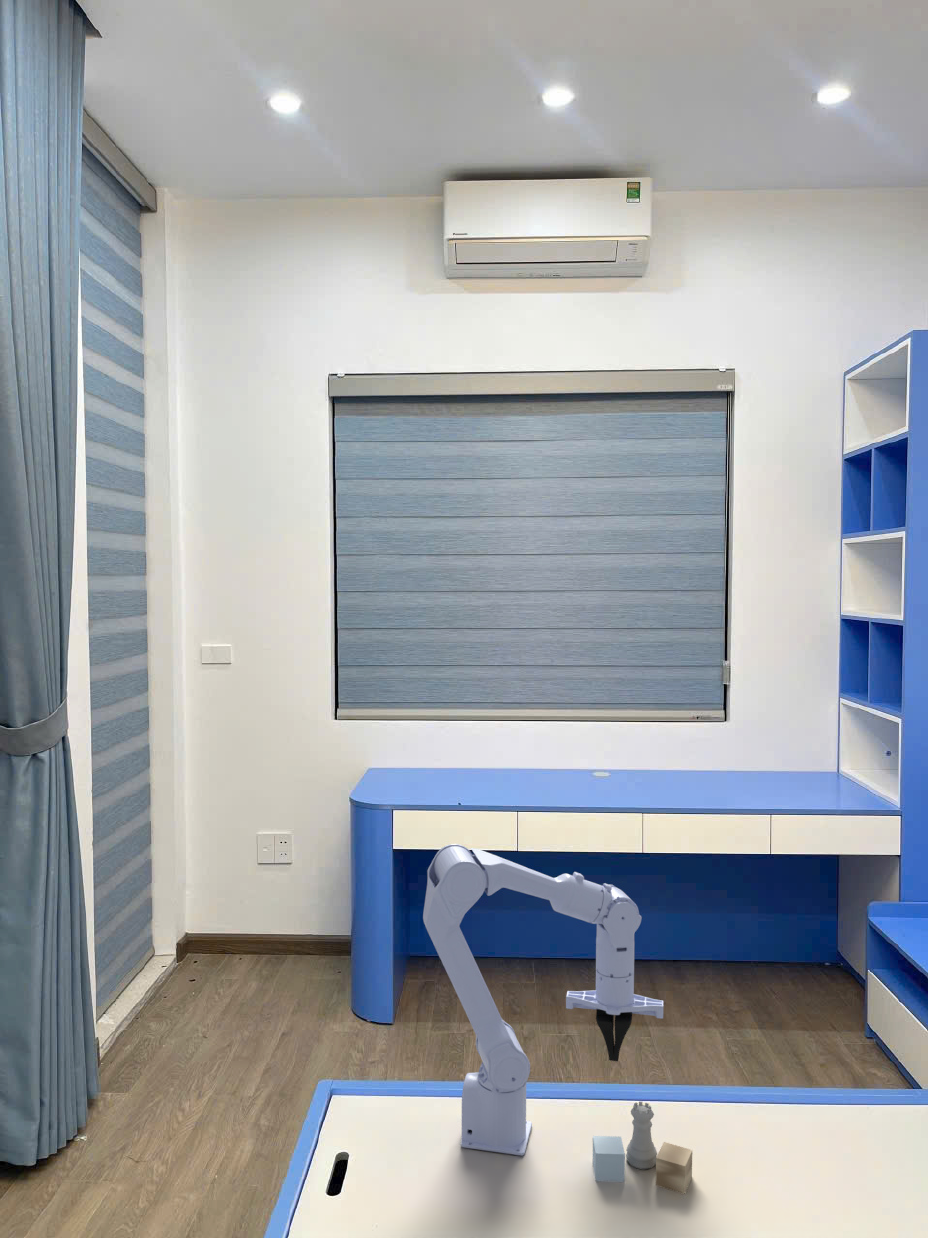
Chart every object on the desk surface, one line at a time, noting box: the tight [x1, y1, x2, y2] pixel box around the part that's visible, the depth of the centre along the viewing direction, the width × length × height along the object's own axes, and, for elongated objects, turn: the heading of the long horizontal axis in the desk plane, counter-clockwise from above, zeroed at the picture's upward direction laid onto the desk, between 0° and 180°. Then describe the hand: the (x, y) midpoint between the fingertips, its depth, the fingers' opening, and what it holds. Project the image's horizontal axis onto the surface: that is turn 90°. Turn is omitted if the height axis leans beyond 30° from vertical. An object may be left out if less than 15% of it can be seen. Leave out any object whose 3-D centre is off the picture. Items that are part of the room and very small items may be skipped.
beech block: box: [655, 1141, 693, 1195], centre depth 127 cm, size 4×4×4 cm
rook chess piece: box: [625, 1101, 658, 1170], centre depth 131 cm, size 4×4×8 cm
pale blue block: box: [592, 1135, 626, 1183], centre depth 129 cm, size 4×4×4 cm
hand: (613, 1057), depth 140 cm, fingers closed
